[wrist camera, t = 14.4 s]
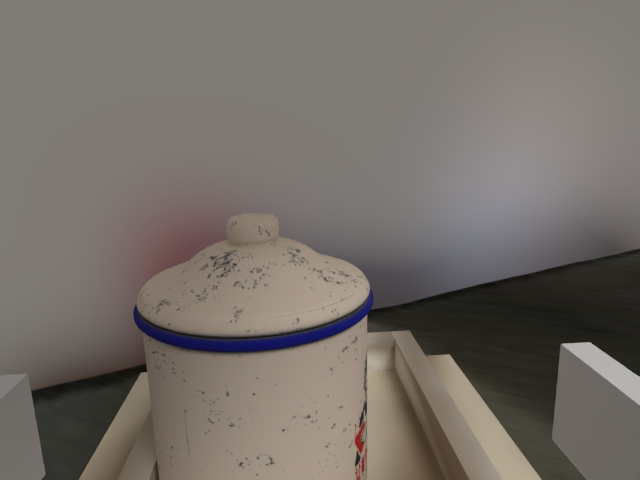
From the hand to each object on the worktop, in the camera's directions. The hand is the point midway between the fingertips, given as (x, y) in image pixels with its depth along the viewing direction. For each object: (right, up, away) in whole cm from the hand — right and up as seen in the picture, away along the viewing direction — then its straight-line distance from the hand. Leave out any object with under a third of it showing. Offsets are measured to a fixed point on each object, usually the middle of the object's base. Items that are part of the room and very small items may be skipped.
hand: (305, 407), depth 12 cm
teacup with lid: (-2, -6, +10) cm, 12 cm away
